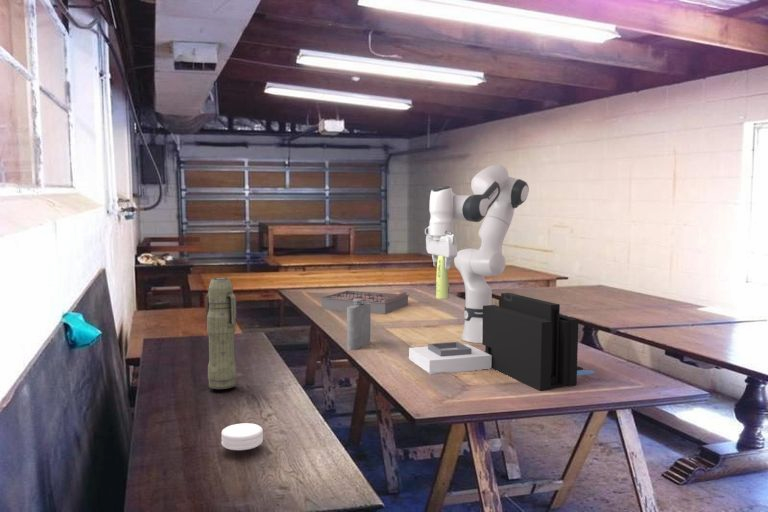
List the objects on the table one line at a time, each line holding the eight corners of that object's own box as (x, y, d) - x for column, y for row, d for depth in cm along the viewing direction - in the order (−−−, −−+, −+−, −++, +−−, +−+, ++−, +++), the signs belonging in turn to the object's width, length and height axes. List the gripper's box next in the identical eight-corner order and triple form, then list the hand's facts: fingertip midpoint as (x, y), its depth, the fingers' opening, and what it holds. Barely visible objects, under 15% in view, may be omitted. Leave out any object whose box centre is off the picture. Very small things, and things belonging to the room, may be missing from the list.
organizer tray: (347, 303, 372) (347, 287, 371) (409, 309, 355) (409, 291, 355) (319, 312, 343) (319, 294, 342) (385, 318, 326) (385, 299, 326)
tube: (431, 298, 234) (431, 246, 232) (439, 297, 237) (439, 245, 236) (444, 299, 230) (444, 246, 228) (452, 298, 234) (452, 245, 232)
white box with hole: (466, 356, 245) (467, 338, 244) (491, 369, 226) (491, 349, 225) (408, 360, 237) (409, 342, 237) (429, 374, 218) (429, 354, 218)
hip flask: (352, 351, 252) (352, 302, 250) (343, 350, 254) (343, 301, 252) (371, 343, 266) (371, 297, 264) (363, 342, 268) (363, 296, 266)
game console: (481, 364, 233) (483, 292, 231) (548, 357, 244) (550, 288, 242) (540, 390, 201) (542, 307, 198) (614, 380, 212) (616, 301, 210)
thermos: (216, 379, 211) (214, 275, 209) (245, 383, 207) (243, 277, 204) (198, 386, 203) (196, 278, 200) (228, 391, 199) (226, 280, 196)
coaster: (213, 447, 154) (212, 433, 153) (237, 433, 163) (237, 420, 162) (247, 453, 150) (247, 439, 149) (270, 439, 159) (270, 425, 158)
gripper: (461, 231, 224) (461, 270, 225) (438, 228, 243) (438, 264, 244) (445, 232, 222) (445, 271, 223) (423, 229, 241) (423, 265, 242)
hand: (441, 267), depth 234 cm, fingers open, 8 cm apart
